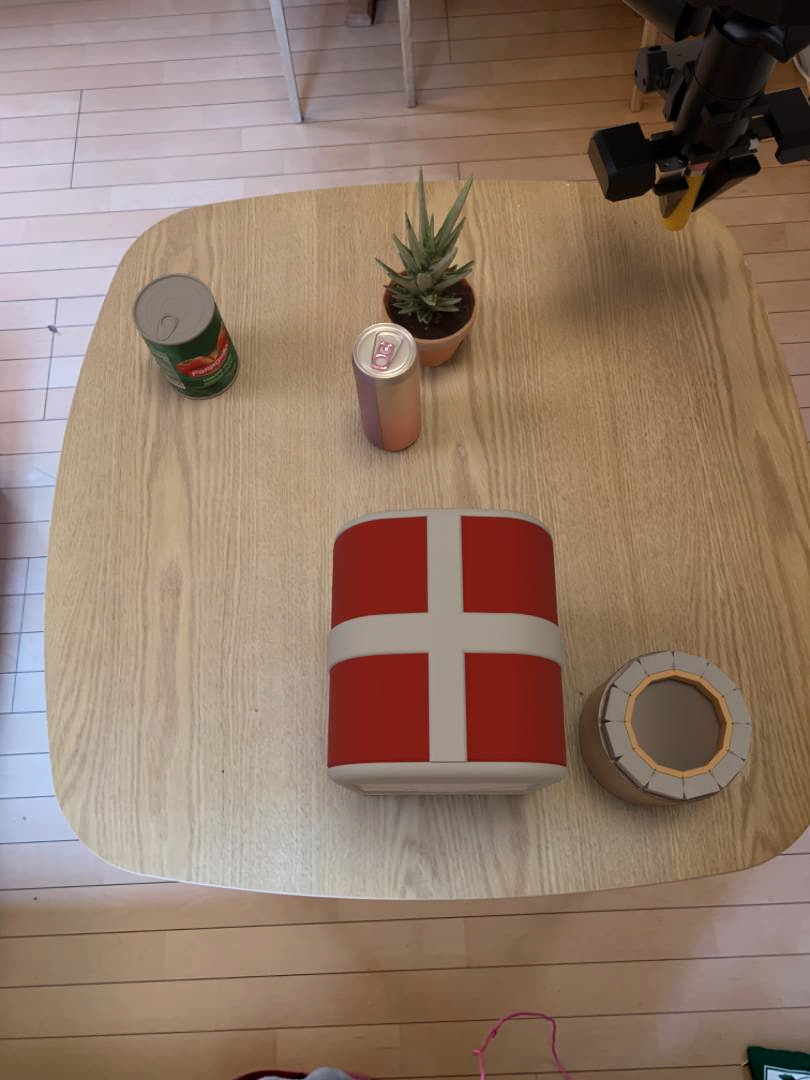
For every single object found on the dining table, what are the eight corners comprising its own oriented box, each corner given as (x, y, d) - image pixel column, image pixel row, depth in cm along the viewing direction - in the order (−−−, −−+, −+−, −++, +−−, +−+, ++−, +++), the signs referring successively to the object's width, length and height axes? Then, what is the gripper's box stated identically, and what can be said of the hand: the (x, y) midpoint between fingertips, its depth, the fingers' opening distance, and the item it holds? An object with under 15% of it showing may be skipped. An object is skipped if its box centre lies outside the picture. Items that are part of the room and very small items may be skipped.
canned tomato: (181, 328, 92) (149, 264, 82) (249, 344, 91) (226, 281, 81) (155, 391, 90) (119, 333, 80) (225, 407, 89) (197, 351, 79)
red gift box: (526, 603, 81) (569, 499, 56) (536, 795, 76) (589, 777, 50) (354, 604, 82) (318, 502, 56) (350, 796, 76) (309, 778, 50)
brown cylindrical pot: (685, 657, 79) (718, 635, 70) (732, 787, 75) (772, 781, 66) (562, 688, 79) (578, 670, 70) (602, 821, 75) (625, 820, 66)
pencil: (681, 208, 82) (706, 140, 74) (690, 228, 81) (716, 161, 73) (657, 214, 82) (680, 146, 74) (666, 234, 81) (689, 167, 73)
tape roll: (715, 641, 70) (721, 637, 69) (766, 777, 66) (773, 776, 65) (584, 673, 69) (588, 670, 68) (628, 813, 66) (633, 813, 64)
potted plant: (477, 306, 92) (492, 129, 69) (470, 383, 89) (483, 226, 66) (386, 300, 93) (370, 122, 69) (376, 376, 90) (355, 217, 66)
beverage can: (356, 445, 87) (341, 370, 73) (373, 395, 89) (362, 313, 75) (411, 460, 86) (407, 387, 72) (428, 409, 88) (427, 329, 74)
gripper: (806, -26, 69) (740, 126, 83) (583, 21, 68) (557, 166, 83) (862, 76, 65) (783, 216, 80) (627, 127, 64) (592, 259, 79)
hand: (677, 211), depth 80 cm, fingers closed on pencil, 2 cm apart
